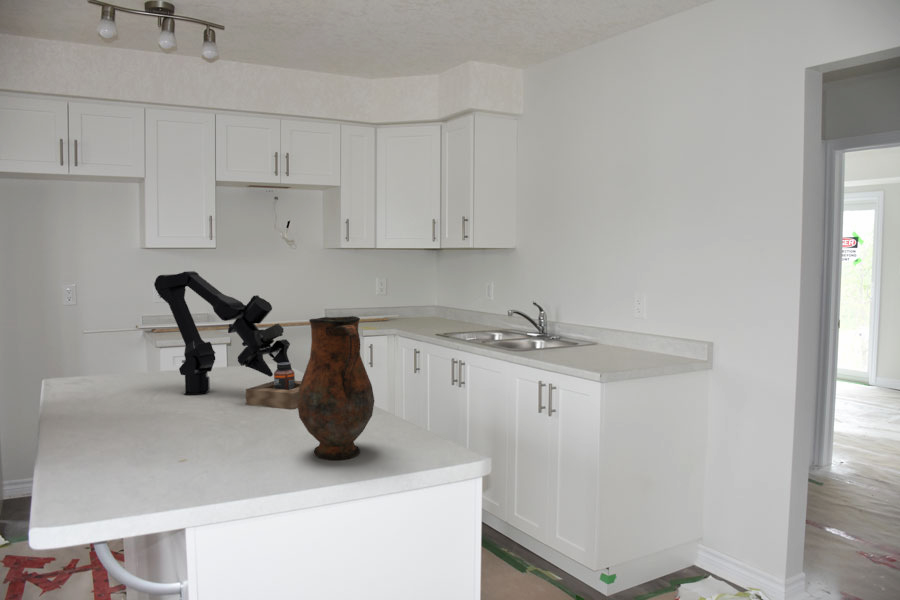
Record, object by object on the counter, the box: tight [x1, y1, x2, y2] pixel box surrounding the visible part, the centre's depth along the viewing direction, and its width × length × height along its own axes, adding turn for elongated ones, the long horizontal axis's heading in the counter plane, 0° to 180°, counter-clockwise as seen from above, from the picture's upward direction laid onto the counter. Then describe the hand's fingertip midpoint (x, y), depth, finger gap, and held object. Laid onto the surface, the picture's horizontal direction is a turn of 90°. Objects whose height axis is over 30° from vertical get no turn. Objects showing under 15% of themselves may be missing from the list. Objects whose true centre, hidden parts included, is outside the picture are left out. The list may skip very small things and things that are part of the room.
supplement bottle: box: [273, 361, 296, 390], centre depth 199 cm, size 6×6×11 cm
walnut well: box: [245, 380, 302, 410], centre depth 199 cm, size 16×16×4 cm
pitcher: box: [297, 315, 375, 461], centre depth 145 cm, size 17×21×30 cm
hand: (281, 373), depth 199 cm, fingers open, 9 cm apart
